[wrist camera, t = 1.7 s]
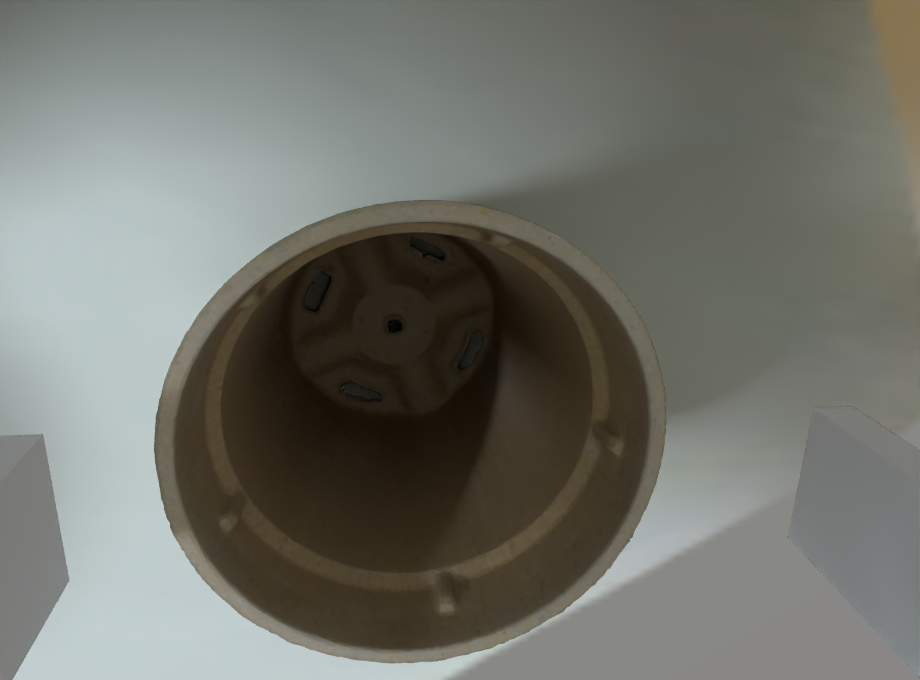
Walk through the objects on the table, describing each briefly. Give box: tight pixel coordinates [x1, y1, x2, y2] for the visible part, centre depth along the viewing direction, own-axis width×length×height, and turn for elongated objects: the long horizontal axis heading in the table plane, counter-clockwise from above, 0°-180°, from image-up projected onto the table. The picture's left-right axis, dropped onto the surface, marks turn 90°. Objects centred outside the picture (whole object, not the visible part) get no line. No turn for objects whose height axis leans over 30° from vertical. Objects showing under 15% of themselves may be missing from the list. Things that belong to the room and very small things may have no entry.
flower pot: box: [154, 200, 666, 663], centre depth 18 cm, size 9×9×9 cm
